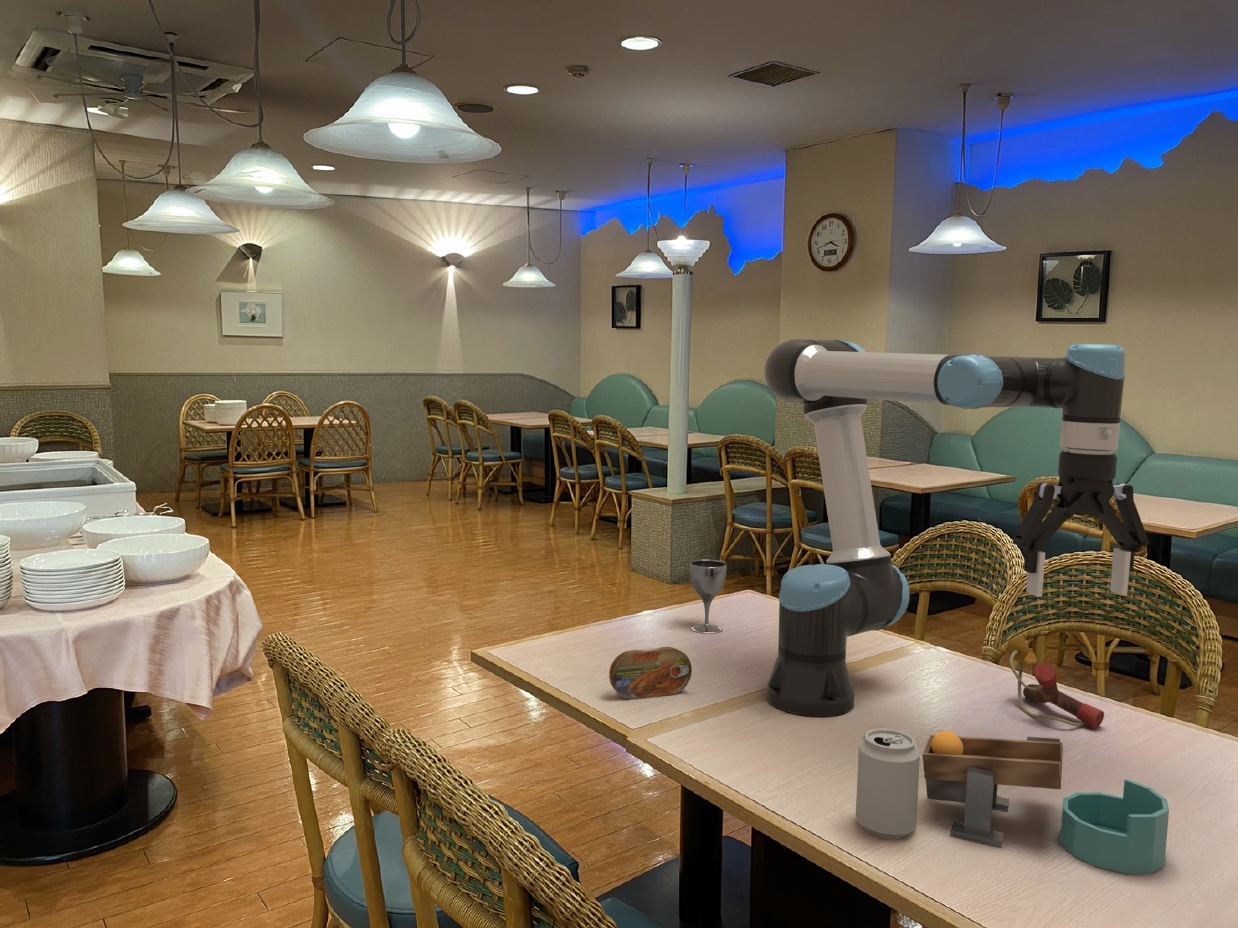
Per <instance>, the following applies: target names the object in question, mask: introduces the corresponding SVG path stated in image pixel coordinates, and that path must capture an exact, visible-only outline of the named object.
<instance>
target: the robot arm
mask: <svg viewBox="0 0 1238 928" xmlns="http://www.w3.org/2000/svg"><path fill="white" fill-rule="evenodd" d="M1125 360H1126V352H1125V350H1124V348H1123V347H1122V346H1121V345H1117V344H1106V343H1105V344H1102V343H1101V344H1100V343H1099V344H1098V343H1097V344H1095V343H1090V344H1089V343H1087V344H1086V343H1084V344H1083V343H1082V344H1080V343H1079V344H1071V345H1069V347H1068V348H1067V351H1066V355H1065V356H1064V357H1039V356H1038V357H1037V356H1036V357H1032V356H1030V357H1029V356H1011V355H1010V356H1009V355H1008V356H996V355H994V356H993V355H981V354H942V353H941V354H938V353H937V354H934V353H905V352H904V353H902V352H900V353H899V352H876V351H875V352H872V351H871V352H869V351H866V350H865V349H864V348H863V347H861V346H860V345H858V344H856V343H854V342H850V341H845V340H841V339H833V340H832V339H831V340H829V339H827V340H826V339H806V338H799V339H798V338H797V339H790V340H786V341H784V342H782V343H780V344H779V345H777V346H776V347H775V348H774V349H772V351H771V352H770V353H769V355H768V356H767V359H766V362H765V365H764V379H765V383H766V385H767V387H768V388H769V390H770V391H771V393H772V394H773V395H774V396H775V397H776V398H779V399H780V400H782V401H785V402H788V403H792V404H802V407H803V408H802V409H803V414H804V418H805V419H807V420H808V421H810V422H811V423H812V424H813V426H814V433H815V439H816V447H817V453H818V459H819V465H820V466H819V467H820V471H821V472H820V474H821V480H822V486H823V487H822V488H823V493H824V499H825V506H826V513H827V518H828V525H829V526H828V527H829V532H830V533H829V534H830V539H831V544H832V545H831V546H832V552H831V554H830V556H829V557H828V558H827V559H826V561H825V562H826V564H825V563H824V564H823V563H817V564H813V565H812V564H807V565H800V566H795V567H794V568H792V569H789V570H788V571H787V572H785V574H784V575H783V577H782V578H781V583H780V591H779V595H778V600H779V607H778V609H779V610H778V612H779V613H778V617H779V618H778V647H777V648H778V649H777V657H776V660H775V663H774V666H773V668H772V670H771V673H770V675H769V679H768V681H767V685H766V695H765V697H766V700H767V701H768V703H770V705H771V706H773V707H775V708H777V709H780V710H782V711H785V712H789V713H791V714H795V715H802V716H811V717H832V716H838V715H842V714H846V713H848V712H850V711H851V710H852V709H853V708H854V707H855V688H854V685H853V682H852V678H851V675H850V671H849V669H848V664H847V658H846V657H847V639H848V638H847V637H852V636H855V635H860V634H862V633H866V632H870V631H880V630H883V629H885V628H887V627H889V626H892V625H893V624H895V623H897V622H898V621H899V620H901V618H902V617H903V616H904V614H905V612H907V609H908V606H909V603H910V587H909V583H908V580H907V578H906V576H905V574H904V573H902V572H901V570H900V569H899V567H897V566H895V565H894V564H893V562H892V556H891V552H889V551H888V550H887V549H885V548H884V547H883V546H882V545H881V540H880V535H879V534H880V533H879V528H878V521H877V515H876V508H875V502H874V496H873V490H872V483H871V475H870V469H869V464H868V463H869V462H868V455H867V449H866V442H865V436H864V431H863V430H864V429H863V425H862V424H863V423H862V416H863V415H864V413H865V412H866V410H867V409H868V400H876V401H877V400H878V401H890V402H891V401H893V402H902V403H903V402H904V403H919V404H929V405H944V406H953V407H955V408H960V409H967V410H968V409H969V410H978V409H982V408H985V409H986V408H1022V407H1023V408H1027V407H1028V408H1053V409H1062V417H1061V430H1060V438H1059V439H1060V440H1059V446H1060V447H1061V448H1062V449H1063V450H1062V451H1061V452H1060V453H1059V455H1058V466H1057V467H1058V469H1057V474H1058V477H1059V481H1058V483H1057V485H1053V484H1049V483H1044V482H1039V483H1038V484H1037V487H1036V493H1035V497H1034V500H1033V501H1032V502H1031V505H1030V507H1029V508H1028V510H1027V512H1026V514H1025V516H1024V518H1023V519H1022V522H1021V523H1020V525H1019V527H1018V528H1017V531H1016V533H1015V535H1014V536H1013V538H1012V541H1011V542H1012V544H1013V545H1015V546H1018V547H1020V548H1023V550H1024V558H1023V559H1024V560H1023V570H1024V572H1026V573H1027V580H1026V593H1028V594H1030V595H1032V596H1034V597H1036V598H1042V597H1043V588H1044V587H1043V586H1044V576H1045V575H1044V574H1045V561H1046V552H1044V551H1041V550H1042V549H1043V547H1044V546H1045V545H1046V544H1047V543H1048V542H1049V540H1050V539H1051V538H1052V537H1054V534H1056V533H1057V531H1058V530H1059V529H1060V528H1061V527H1062V526H1063V525H1064V523H1065V522H1066V521H1067V520H1068V519H1071V518H1072V517H1073V516H1074V515H1075V516H1085V515H1086V516H1087V515H1090V516H1097V517H1098V518H1099V519H1100V520H1101V522H1102V523H1103V525H1104V527H1105V528H1106V529H1107V530H1108V532H1109V533H1110V535H1111V537H1112V538H1113V540H1115V542H1116V543H1117V545H1118V546H1119V547H1120V548H1117V547H1116V548H1115V547H1114V548H1113V553H1112V554H1113V555H1112V562H1111V564H1112V565H1111V576H1110V577H1111V578H1110V589H1109V591H1110V592H1112V593H1114V594H1117V595H1120V596H1128V590H1129V588H1128V587H1129V578H1130V577H1129V575H1130V573H1132V572H1133V570H1134V565H1135V563H1134V562H1135V555H1136V554H1135V553H1140V552H1141V550H1142V547H1143V548H1147V547H1148V546H1149V544H1150V540H1149V538H1148V535H1147V533H1146V529H1145V527H1144V525H1143V522H1142V519H1141V517H1140V514H1139V511H1138V508H1137V505H1136V503H1135V501H1134V499H1135V498H1134V487H1133V485H1130V484H1127V483H1121V482H1116V484H1115V485H1114V484H1113V482H1114V479H1115V478H1116V476H1117V464H1118V456H1117V454H1115V453H1114V452H1116V451H1117V450H1118V448H1119V441H1120V440H1119V439H1120V429H1121V413H1122V412H1121V411H1122V404H1123V403H1122V402H1123V394H1124V383H1125V379H1126V374H1125V373H1126V372H1125V370H1126V369H1125V366H1126V364H1125V363H1126V361H1125ZM1056 498H1058V500H1057V501H1056V502H1055V504H1054V505H1053V506H1052V504H1053V501H1054V499H1056ZM1112 498H1114V499H1115V504H1116V506H1117V510H1118V512H1119V514H1120V517H1121V520H1122V521H1121V520H1120V518H1119V517H1118V515H1117V514H1116V510H1115V508H1114V507H1113V505H1112V504H1111V503H1110V501H1111V499H1112ZM1051 506H1052V507H1051ZM1050 510H1051V511H1050ZM1049 511H1050V512H1049ZM1048 512H1049V513H1048ZM1047 513H1048V514H1047Z"/></svg>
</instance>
